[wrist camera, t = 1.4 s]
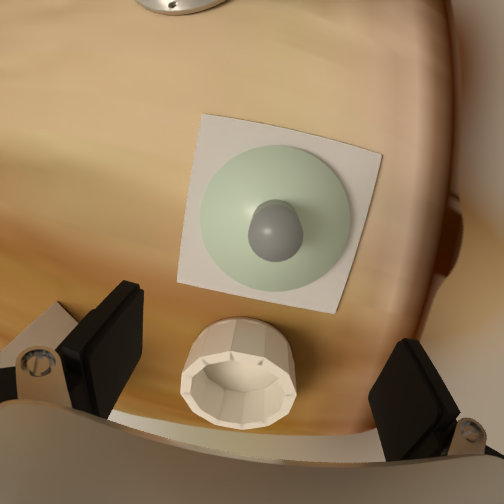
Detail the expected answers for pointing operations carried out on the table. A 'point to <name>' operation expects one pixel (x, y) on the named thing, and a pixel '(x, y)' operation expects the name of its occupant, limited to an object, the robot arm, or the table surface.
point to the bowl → (240, 374)
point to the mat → (257, 135)
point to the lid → (274, 218)
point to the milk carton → (40, 334)
